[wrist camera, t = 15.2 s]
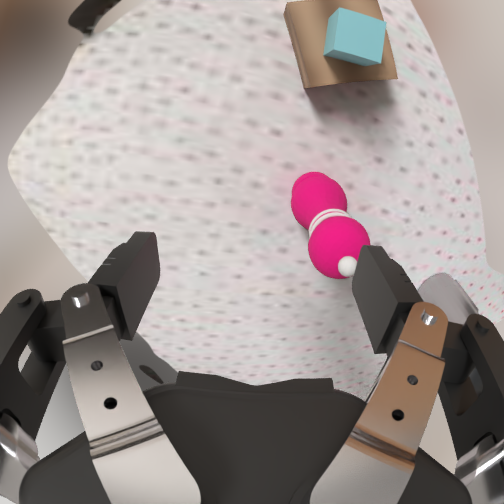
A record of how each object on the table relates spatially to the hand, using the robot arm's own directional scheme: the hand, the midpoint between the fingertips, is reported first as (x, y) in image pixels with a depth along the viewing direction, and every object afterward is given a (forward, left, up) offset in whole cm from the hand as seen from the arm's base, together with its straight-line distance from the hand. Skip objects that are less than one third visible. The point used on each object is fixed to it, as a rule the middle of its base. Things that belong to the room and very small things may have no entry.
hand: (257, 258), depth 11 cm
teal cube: (-9, -14, -24) cm, 30 cm away
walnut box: (-9, -14, -30) cm, 35 cm away
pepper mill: (-8, +7, -30) cm, 32 cm away
